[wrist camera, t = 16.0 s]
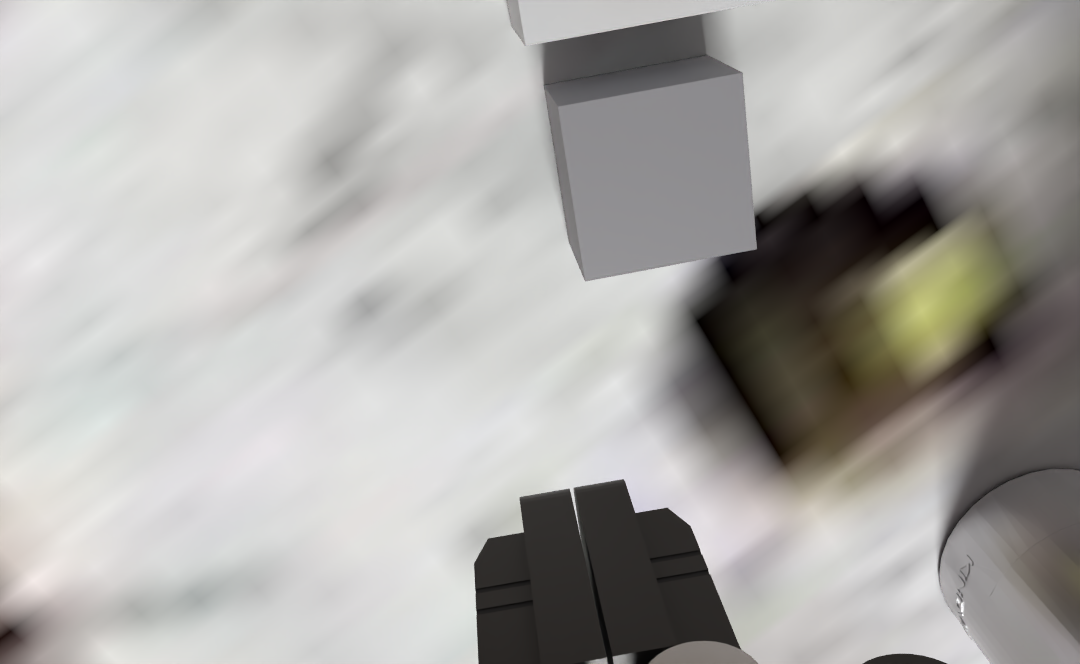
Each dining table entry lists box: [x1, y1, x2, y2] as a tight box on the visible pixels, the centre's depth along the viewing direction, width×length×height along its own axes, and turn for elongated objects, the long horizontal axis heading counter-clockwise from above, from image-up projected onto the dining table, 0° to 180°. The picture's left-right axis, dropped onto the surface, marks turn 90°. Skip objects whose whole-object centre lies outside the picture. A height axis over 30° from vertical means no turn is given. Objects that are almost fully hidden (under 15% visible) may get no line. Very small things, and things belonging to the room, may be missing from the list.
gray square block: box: [544, 55, 757, 281], centre depth 35 cm, size 6×6×4 cm
